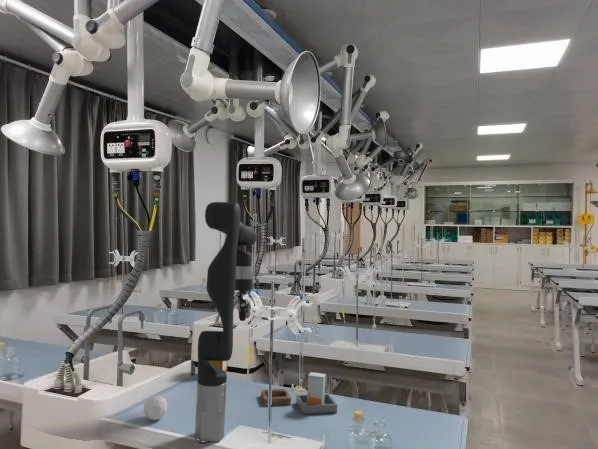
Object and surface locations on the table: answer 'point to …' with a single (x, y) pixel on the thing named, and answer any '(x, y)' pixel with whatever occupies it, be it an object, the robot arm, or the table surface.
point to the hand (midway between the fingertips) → (242, 319)
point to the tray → (328, 405)
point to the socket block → (277, 397)
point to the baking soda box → (220, 364)
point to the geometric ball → (155, 408)
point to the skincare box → (316, 389)
